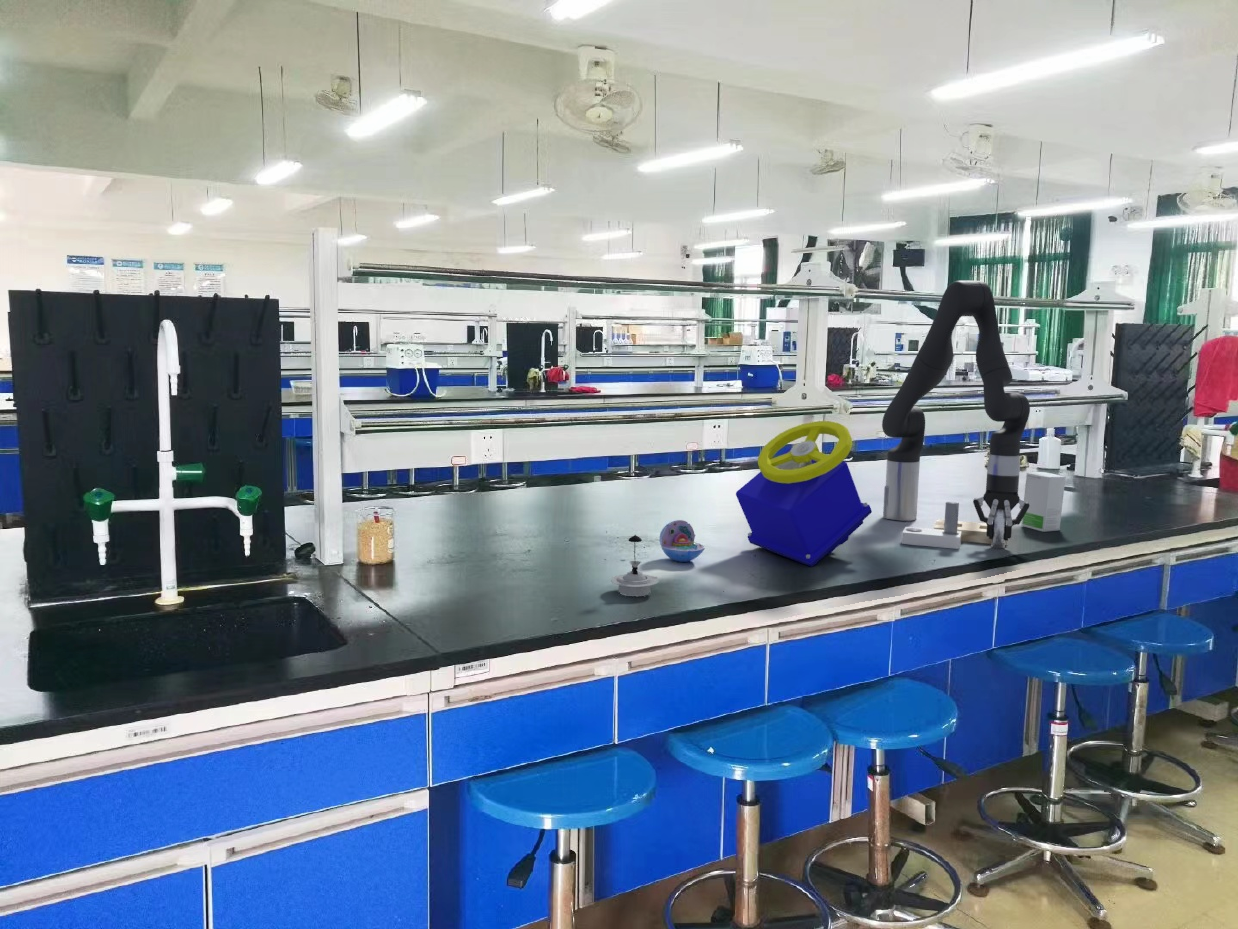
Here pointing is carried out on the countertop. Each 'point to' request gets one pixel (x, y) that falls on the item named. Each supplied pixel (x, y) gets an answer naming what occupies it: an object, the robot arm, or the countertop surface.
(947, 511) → the block
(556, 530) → the countertop surface
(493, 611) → the countertop surface
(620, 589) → the white domed rod stand
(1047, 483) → the skincare box
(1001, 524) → the steel pin
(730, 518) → the countertop surface
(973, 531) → the pin board
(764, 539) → the control box
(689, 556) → the cell model
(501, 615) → the countertop surface
